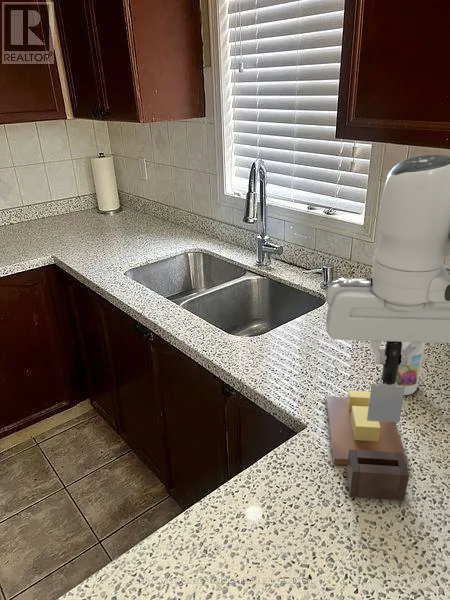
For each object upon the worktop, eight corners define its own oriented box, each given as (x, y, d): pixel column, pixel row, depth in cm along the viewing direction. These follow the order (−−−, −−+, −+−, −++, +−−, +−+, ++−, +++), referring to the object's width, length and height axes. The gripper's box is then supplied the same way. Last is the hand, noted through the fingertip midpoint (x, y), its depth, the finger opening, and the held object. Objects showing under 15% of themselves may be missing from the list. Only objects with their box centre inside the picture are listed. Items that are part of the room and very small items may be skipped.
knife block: (397, 477, 80) (402, 452, 77) (404, 500, 75) (409, 475, 73) (346, 473, 81) (348, 448, 78) (349, 496, 76) (352, 471, 74)
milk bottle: (387, 372, 108) (398, 297, 99) (420, 382, 104) (435, 306, 95) (376, 388, 102) (387, 311, 93) (411, 400, 98) (426, 321, 89)
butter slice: (369, 404, 95) (370, 391, 94) (370, 411, 93) (372, 398, 92) (347, 403, 96) (348, 390, 94) (348, 410, 94) (350, 397, 92)
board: (387, 404, 97) (387, 399, 96) (406, 469, 81) (407, 463, 80) (326, 401, 99) (326, 396, 98) (333, 464, 83) (334, 458, 82)
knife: (397, 417, 73) (410, 334, 66) (400, 426, 71) (414, 341, 64) (366, 415, 74) (376, 333, 67) (368, 424, 72) (378, 340, 65)
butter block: (373, 420, 91) (375, 406, 89) (378, 441, 85) (380, 427, 84) (350, 419, 91) (351, 405, 90) (354, 440, 86) (356, 426, 84)
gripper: (329, 287, 60) (323, 371, 66) (491, 290, 57) (469, 378, 64) (325, 269, 66) (320, 348, 72) (473, 271, 63) (454, 353, 69)
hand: (391, 362), depth 68 cm, fingers closed on knife, 2 cm apart
